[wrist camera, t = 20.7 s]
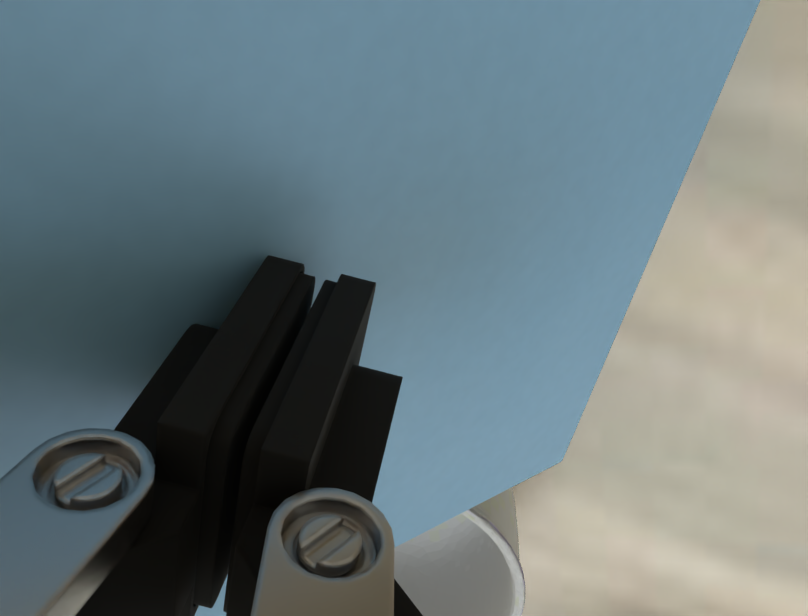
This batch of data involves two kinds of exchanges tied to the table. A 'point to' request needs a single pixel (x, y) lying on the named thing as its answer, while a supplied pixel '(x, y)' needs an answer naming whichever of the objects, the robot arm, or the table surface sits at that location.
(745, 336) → the table surface
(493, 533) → the teacup
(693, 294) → the table surface
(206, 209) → the lid
